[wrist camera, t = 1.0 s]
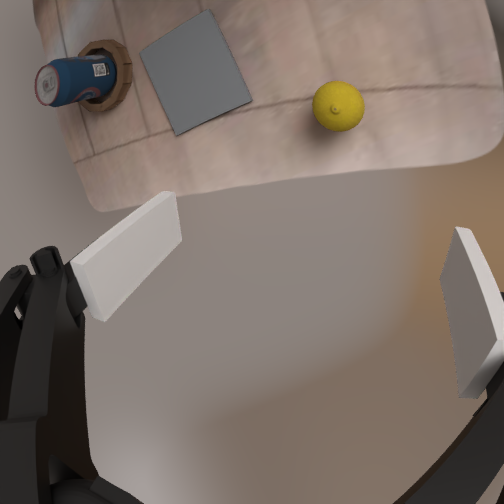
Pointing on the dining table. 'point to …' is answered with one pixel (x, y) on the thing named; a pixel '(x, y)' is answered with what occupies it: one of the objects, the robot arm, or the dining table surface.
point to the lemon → (338, 106)
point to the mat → (195, 73)
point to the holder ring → (122, 74)
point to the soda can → (74, 79)
